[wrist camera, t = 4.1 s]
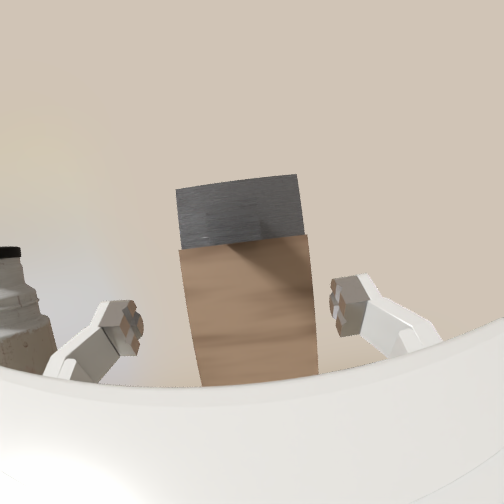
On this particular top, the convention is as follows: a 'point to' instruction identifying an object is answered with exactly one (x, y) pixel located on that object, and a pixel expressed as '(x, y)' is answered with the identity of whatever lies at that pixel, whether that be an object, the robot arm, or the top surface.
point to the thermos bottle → (22, 319)
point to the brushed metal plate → (239, 211)
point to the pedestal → (251, 310)
